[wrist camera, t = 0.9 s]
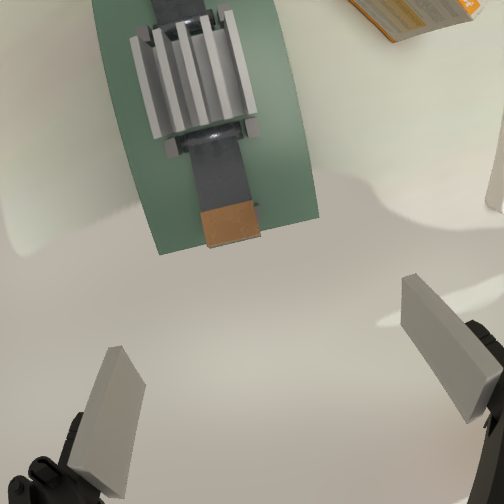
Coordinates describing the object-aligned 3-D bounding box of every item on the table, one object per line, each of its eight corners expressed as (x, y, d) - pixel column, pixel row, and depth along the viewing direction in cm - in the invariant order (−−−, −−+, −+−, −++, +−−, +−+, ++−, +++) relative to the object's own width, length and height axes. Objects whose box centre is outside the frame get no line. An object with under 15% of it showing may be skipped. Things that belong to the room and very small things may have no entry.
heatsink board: (93, -18, 20) (63, -43, 13) (250, -61, 19) (257, -99, 13) (162, 249, 32) (146, 286, 25) (315, 212, 32) (339, 241, 25)
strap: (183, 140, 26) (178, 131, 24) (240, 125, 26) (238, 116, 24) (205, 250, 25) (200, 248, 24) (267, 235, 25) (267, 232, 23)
